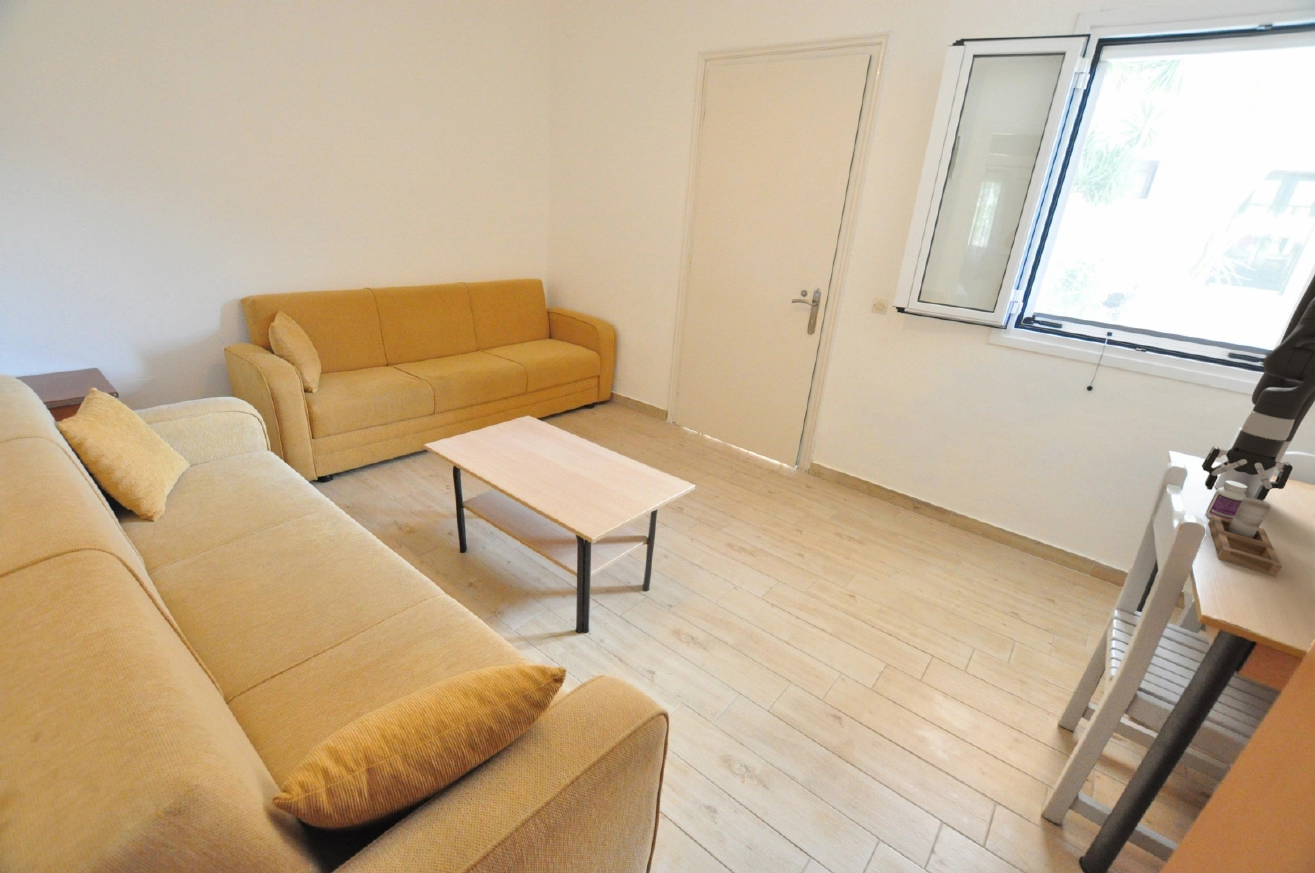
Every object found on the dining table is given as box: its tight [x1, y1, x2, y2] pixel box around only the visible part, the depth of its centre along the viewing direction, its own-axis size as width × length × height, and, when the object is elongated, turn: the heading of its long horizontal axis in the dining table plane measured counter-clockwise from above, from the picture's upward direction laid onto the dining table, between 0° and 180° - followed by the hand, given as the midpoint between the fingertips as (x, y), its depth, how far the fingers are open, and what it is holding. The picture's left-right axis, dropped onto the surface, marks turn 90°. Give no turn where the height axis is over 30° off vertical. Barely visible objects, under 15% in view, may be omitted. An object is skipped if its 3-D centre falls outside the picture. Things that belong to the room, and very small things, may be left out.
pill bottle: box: [1205, 481, 1247, 520], centre depth 138 cm, size 5×5×10 cm
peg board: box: [1207, 497, 1283, 577], centre depth 125 cm, size 20×9×10 cm, turn 142°
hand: (1231, 494), depth 137 cm, fingers open, 8 cm apart
